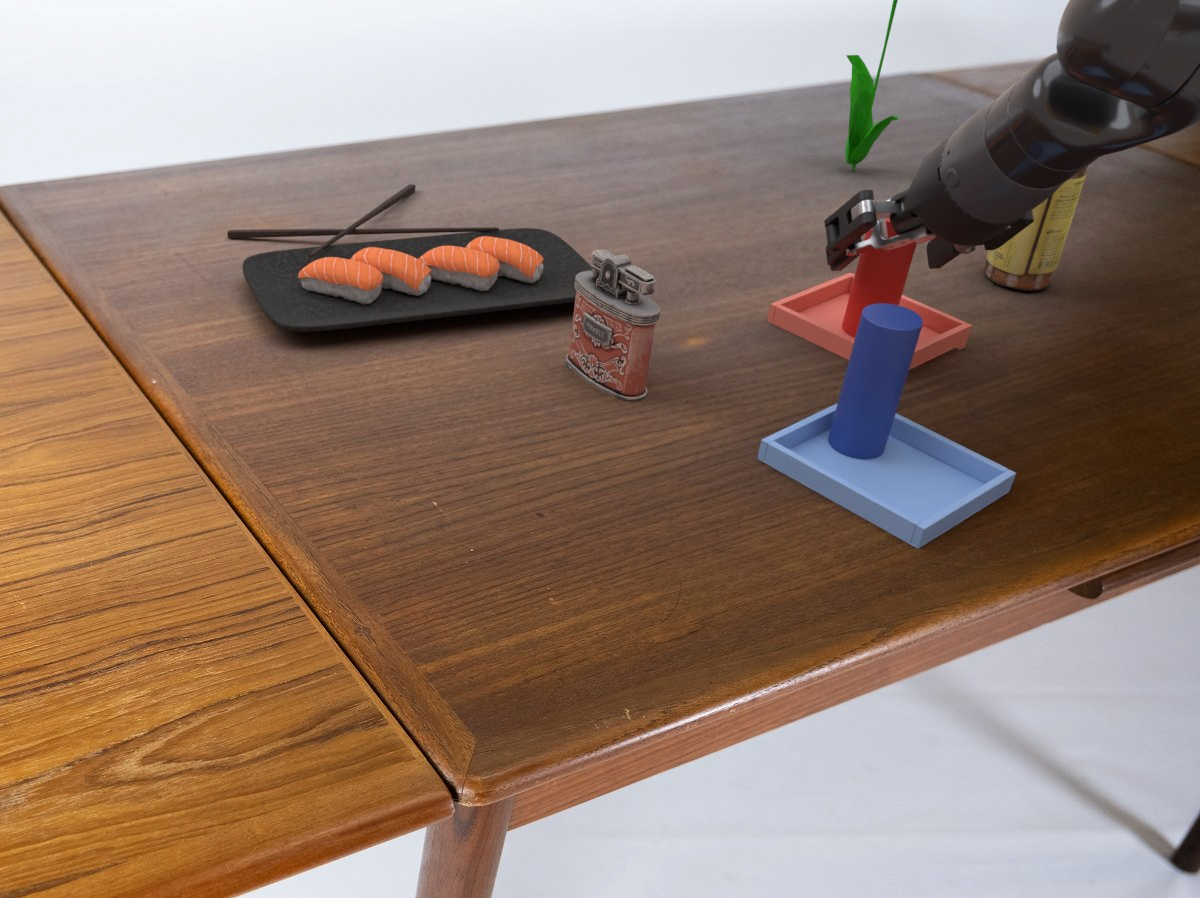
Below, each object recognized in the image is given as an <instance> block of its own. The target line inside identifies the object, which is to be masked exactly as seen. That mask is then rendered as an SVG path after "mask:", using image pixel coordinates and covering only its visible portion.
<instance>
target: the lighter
mask: <svg viewBox="0 0 1200 898" xmlns="http://www.w3.org/2000/svg"><path fill="white" fill-rule="evenodd" d="M590 265H591V266H592V271H584V272H580V273H578V274H577V275H576V277H575V285H574V287H575V289H576V299H575V302H574V309H573V310H574V311H573V316H572V326H571V334H570V343H569V351H568V353H567V354H566V357H565V363H564V369H565V370H566V371H569V370H572V371H573V372H574V373H575V374H576V375H578V376H579V377H580V378H582V379H583V380H584V381H585V382H587V383H588V384H590V385H591V386H593V387H594V388H597V390H600V391H601V392H604V394H607V395H609V396H611V397H613V398H615V399H617V400H618V401H619V400H620V401H621V402H627V403H635V402H636V403H637V402H640V401H643V400H645V399H646V397H647V396H648V395H647V394H648V389H647V387H646V386H647V385H646V384H647V379H648V372H649V368H650V367H649V366H650V360H651V355H652V349H653V348H652V347H653V341H654V336H655V335H654V334H655V328H656V323H658V322H659V320H660V316H661V315H660V314H661V306H659V304H657V302H656V301H654V300H653V299H651V298H650V297H649V296H652V295H654V293H655V287H656V279H655V278H654V276H653V275H652V274H650V273H648V272H647V271H645V270H644V269H641V268H640V267H639V266H636V265H633V262H632V259H631V258H630V256H629V255H627V254H619V255H614V254H612V253H611V252H609V251H608V250H605V249H596V250H593V251H592V255H591V262H590Z"/></svg>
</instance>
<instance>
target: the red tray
mask: <svg viewBox="0 0 1200 898" xmlns="http://www.w3.org/2000/svg"><path fill="white" fill-rule="evenodd" d="M854 277H855V273H853V272H849V273H846V274H844V275H840V276H838V277H834V278H833V279H830V280H828V281H825V282H823V283H820V284H818V285H815V286H813V287H810V288H807V289H805V290H802V291H800V292H796V293H795V294H791V295H789V296H787V297H785V298H781V299H779V300H776V301H774V302H771V303H770V306H769V310H768V315H767V319H766V320H767V322H769V323H771V324H773V325H775V326H778V327H779V328H781V329H783V330H786V331H788V332H790V333H792V334H793V335H795V336H798V337H800V338H802V339H803V340H807V341H808V342H811V343H813V344H815V345H817V346H819V347H821V348H823V349H825V350H827V351H830V352H831V353H833V354H836V355H838V356H840V357H842V358H843V359H846V360H848V361H849V359H850V355H851V351H852V348H853V344H854V340H855V337H852V336H850V335H849V334H847V333H846V332H845V331H844V330H843V328H842V323H843V319H844V315H845V311H846V307H847V304H848V300H849V296H850V292H851V288H852V284H853V280H854ZM899 306H902V307H905V308H908V309H910V310H912V311H914V312H916V313H917V314H918V315H920V316H921V318H922V320H923V325H922V328H921V332H920V335H919V338H918V342H917V345H916V348H915V352H914V355H913V358H912V361H911V365H910V368H909V371H910V370H912V369H915V368H916V367H918V366H920V365H923V364H924V363H927V362H928V361H931V360H933V359H934V358H937V357H939V356H941V355H943V354H945V353H947V352H950V351H951V350H953V349H958V350H960V351H961V350H963V349H965V348H966V345H967V343H968V339H969V337H970V335H971V331H972V327H973V324H971V323H969V322H966V321H964V320H962V319H959V318H958V317H955V316H953V315H950V314H948V313H946V312H943V311H941V310H938V309H936V308H935V307H932V306H929V305H927V304H925V303H923V302H920V301H918V300H916V299H914V298H911V297H908V296H907V295H904V294H902V296H901V300H900V303H899Z"/></svg>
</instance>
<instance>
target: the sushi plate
mask: <svg viewBox="0 0 1200 898" xmlns="http://www.w3.org/2000/svg"><path fill="white" fill-rule="evenodd" d="M414 192H416V184H414V183H413V184H412V183H410V184H408V185H406V186H405V187H404V188H402V189H400V190H399V191H398V192H396V193H394V194H393V195H392V196H391V197H389V198H388V199H386V200H384V201H383V202H382V203H381V204H379V205H378V206H376V207H374V209H372V210H370V211H369V212H368V213H367V214H365V215H363V217H361V218H360V219H358V220H357V221H355V222H354V223H352V224H351V225H349V226H348V227H347V228H286V229H285V228H281V229H280V228H279V229H277V228H276V229H274V228H273V229H272V228H270V229H268V228H267V229H264V228H263V229H261V228H259V229H230V230H227V232H226V234H227V238H228V239H255V238H257V239H258V238H259V239H260V238H293V237H295V238H296V237H326V236H333V237H331V238H330V239H328V240H327V241H326V242H324V243H322V244H321V245H320V246H311V247H301V248H300V247H299V248H291V249H290V248H289V249H281V250H273V251H267V252H266V251H265V252H262V253H257V254H253V255H251V256H248V257H246V258H245V259H244V260H243V262H242V265H241V266H242V267H241V268H242V273H243V277H244V279H245V281H246V284H247V285H248V288H249V289H250V292H251V294H253V296H254V299H255V300H256V302H257V304H258V306H259V307H260V309H261V310H262V312H263V313H264V315H265V316H266V317H267V319H268V320H269V321H270V322H271V323H272V324H273V325H275V326H276V327H278V328H280V329H282V330H284V331H290V332H300V333H307V332H310V333H311V332H312V333H313V332H326V331H336V330H346V329H355V328H356V329H357V328H365V327H373V326H382V325H389V324H390V325H391V324H400V323H407V322H415V321H425V320H433V319H442V318H450V317H458V316H459V317H460V316H469V315H476V314H484V313H493V312H502V311H509V310H519V309H527V308H528V309H529V308H536V307H545V306H551V305H552V306H553V305H562V304H569V303H575V299H576V289H575V287H574V285H575V277H576V275H577V274H578V273H580V272H584V271H592V266H591V263H589V262H588V261H587V260H586V259H585V258H583V256H582V255H580V254H579V253H578V251H576V250H575V249H574V248H573V247H572V246H571V245H570V244H568V242H566V241H565V240H564V239H562V238H561V237H560V236H558V235H557V234H555V233H553V232H551V231H549V230H546V229H542V228H533V227H532V228H531V227H521V228H520V227H518V228H504V229H500V227H499V226H498V227H497V226H493V227H492V226H491V227H490V226H486V227H483V226H482V227H480V226H479V227H425V228H424V227H419V228H418V227H417V228H416V227H415V228H414V227H411V228H410V227H409V228H407V227H406V228H405V227H404V228H359V227H360V226H362V225H363V224H365V223H366V222H368V221H370V220H372V219H373V218H375V217H376V216H378V215H380V214H381V213H383V212H384V211H386V210H388V209H389V208H391V207H393V206H394V205H396V204H397V203H398V202H401V201H402V200H403V199H405V198H406V197H408V196H410V195H411V194H413V193H414ZM434 233H435V234H436V233H439V234H437V235H427V236H417V237H406V238H396V239H395V238H394V239H384V240H373V241H363V242H353V243H352V242H351V243H343V244H334V243H336V242H337V241H339V240H341V239H342V238H343V237H345V236H354V235H356V236H358V235H389V234H390V235H391V234H392V235H393V234H394V235H395V234H434ZM440 233H447V234H440ZM448 233H449V234H448Z"/></svg>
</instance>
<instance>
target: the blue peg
mask: <svg viewBox="0 0 1200 898" xmlns="http://www.w3.org/2000/svg"><path fill="white" fill-rule="evenodd" d="M922 325H923V320H922V318H921V316H920V315H918V314H917V313H916V312H914V311H912V310H910V309H908V308H905V307H902V306H898V305H894V304H885V303H879V304H872V305H868V306H866V307H865V308H864V309H863V311H862V314H861V318H860V322H859V325H858V329H857V333H856V336H855V340H854V344H853V348H852V351H851V355H850V359H849V360H848V362H847V367H846V371H845V375H844V377H843V381H842V386H841V389H840V393H839V397H838V400H837V402H836V404H837V407H836V411H835V415H834V418H833V422H832V426H831V429H830V433H829V437H828V441H829V444H830V446H831V447H832V448H833V449H834V450H836V451H837V452H839V453H841V454H843V455H846V456H849V457H852V458H857V459H873V458H877V457H879V456H881V455H882V454H883V453H884V451H885V447H886V444H887V441H888V437H889V434H890V431H891V428H892V424H893V421H894V418H895V414H896V413H897V410H898V408H899V404H900V400H901V398H902V395H903V391H904V388H905V384H906V381H907V379H908V374H909V371H910V370H909V368H910V365H911V361H912V358H913V355H914V352H915V348H916V345H917V342H918V338H919V335H920V332H921V328H922Z"/></svg>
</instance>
